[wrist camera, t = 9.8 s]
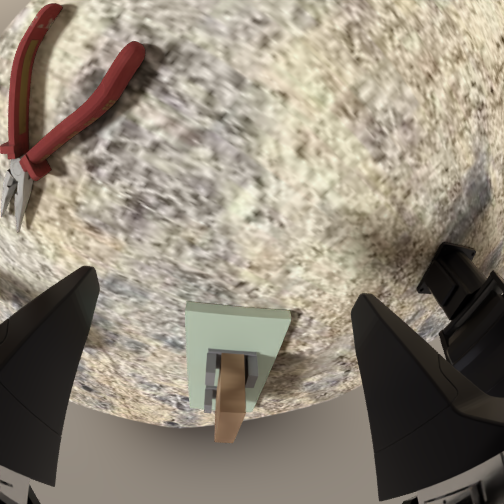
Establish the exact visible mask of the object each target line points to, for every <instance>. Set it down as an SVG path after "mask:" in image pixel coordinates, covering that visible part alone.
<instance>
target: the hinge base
mask: <svg viewBox="0 0 504 504" xmlns="http://www.w3.org/2000/svg"><path fill="white" fill-rule="evenodd" d="M290 322H291V314H290V310H278V309H263V308H251V307H239V306H228V305H217V304H208V303H198V302H189V301H187V303H186V308H185V327H186V355H187V374H188V389H189V402H190V408H194V409H204V413H211V410H215V406H216V392H217V384H218V376H219V369H220V361H221V354H222V353H231V354H244V370H245V402H246V412H252V411H253V409H254V406H255V404H256V402H257V400H258V398H259V396H260V393H261V391H262V389H263V387H264V384H265V382H266V380H267V377H268V375H269V373H270V371H271V368H272V366H273V363H274V361H275V359H276V356H277V354H278V352H279V349H280V347H281V344H282V342H283V339H284V337H285V334H286V332H287V329H288V327H289V324H290Z"/></svg>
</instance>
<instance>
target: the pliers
mask: <svg viewBox="0 0 504 504" xmlns="http://www.w3.org/2000/svg"><path fill="white" fill-rule="evenodd" d="M62 8H63V7H62V6H61V5H59V4H56V3H51V4H48V5H46V6H44V7H43V8H42V9H41V10H40V11H39V12H38V14H37V15H36V17H35V18H34V20H33V21H32V23H31V24H30V26H29V28H28V29H27V31H26V33H25V35H24V36H23V38H22V40H21V42H20V43H19V46H18V48H17V51H16V54H15V57H14V61H13V65H12V71H11V78H10V89H9V108H8V136H9V141H8V142H6V143H4V144H2V145H1V146H0V153H1V154H8V159H11V164H10V169H9V170H7V173H6V175H5V179H4V183H3V193H2V207H1V217H3V216H4V213H5V211H6V209H7V206H8V204H9V202H10V200H11V198H12V195H13V193H14V191H15V189H16V187H17V184H18V187H17V192H16V193H15V217H16V226H17V233H18V232H19V231H20V228H21V224H22V220H23V217H24V213H25V210H26V207H27V204H28V200H29V197H30V194H31V189H32V184H33V180H34V181H38V180H39V179H41V178H42V177H43V176H45V175H46V174H47V173H49V172H50V171H51V168H50V166H49V164H48V162H47V160H46V158H47V157H49V156H50V155H51V154H52V153H53V152H55V151H56V150H57V149H58V148H60V147H61V146H62V145H63V144H65V143H66V142H67V141H68V140H70V139H71V138H72V137H74V136H75V135H76V134H78V133H79V132H80V131H82V130H83V129H85V128H86V127H87V126H89V125H90V124H92V123H93V122H94V121H96V120H97V119H98V118H99V117H101V116H102V115H103V114H104V113H105V112H106V111H107V110H108V109H110V108H111V107H112V106H113V105H114V103H115V102H116V101H117V100H118V99H119V98H120V96H121V94H122V93H123V91H124V89H125V88H126V86H127V84H128V83H129V81H130V80H131V78H132V76H133V75H134V73H135V72H136V70H137V69H138V67H139V66H140V64H141V63H142V62H143V59H144V57H145V48H144V47H143V45H142V44H141V43H139V42H136V41H132V42H130V43H129V44H127V45H126V46H125V47H124V48H123V49H122V50H121V52H120V53H119V54H118V56H117V57H116V59H115V60H114V62H113V64H112V65H111V67H110V68H109V70H108V72H107V73H106V75H105V77H104V78H103V80H102V82H101V83H100V85H99V86H98V88H97V89H96V90H95V92H94V93H93V94H92V95H91V96H90V98H89V99H88V100H87V101H86V102H85V103H84V104H83V105H82V106H80V107H79V108H78V109H77V110H76V111H75V112H73V113H72V114H71V115H69V116H68V117H67V118H66V119H64V120H63V121H62V122H61V123H60V124H58V125H57V126H56V127H55V128H54V129H52V130H51V131H50V132H49V133H48V134H47V135H46V136H44V137H43V138H42V139H41V140H40V141H39V142H38V143H37V144H36V145H35V146H34V147H33V148H32V149H31V150H29V129H28V122H29V95H30V83H31V73H32V67H33V62H34V58H35V55H36V52H37V49H38V47H39V45H40V43H41V41H42V39H43V37H44V36H45V34H46V32H47V31H48V29H49V28H50V26H51V25H52V23H53V21H54V20H55V18H56V17H57V15H58V14H59V13H60V11H61V10H62Z"/></svg>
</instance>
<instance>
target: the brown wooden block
mask: <svg viewBox="0 0 504 504" xmlns="http://www.w3.org/2000/svg"><path fill="white" fill-rule="evenodd" d="M245 414H246V402H245V370H244V354H231V353H222V354H221V361H220V369H219V376H218V384H217V392H216V406H215V442H224V443H233V442H234V440H235V438H236V435H237V433H238V430H239V428H240V426H241V424H242V421H243V419H244V416H245Z"/></svg>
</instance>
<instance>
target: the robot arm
mask: <svg viewBox="0 0 504 504" xmlns="http://www.w3.org/2000/svg"><path fill="white" fill-rule="evenodd" d="M475 253H476V251H475V250H474V249H473V248H469V247H465V246H460V245H456V244H451V243H447V242H443V243H442V244H441V245H440V247H439V249H438V251H437V253H436V255H435V257H434V258H433V260H432V262H431V264H430V266H429V268H428V269H427V271H426V273H425V275H424V277H423V278H422V280H421V282H420V283H419V285H418V287H417V291H418V293H424V294H433V296H434V297H435V299H436V301H437V302H438V304H439V305H440V306H441V307H442V309H443V310H444V312H445V313H446V315H447V317H448V318H449V320H451V322H450V323H449V324H448V325H447V326H446V327H445V328H444V329H443V330H441V331H440V332H439V336H440V339H441V344H442V347H443V350H444V354H445V357H446V360H445V359H444V358H443V357H442V356H441V355H440V354H438V352H436V350H434V348H432V347H431V346H430V345H429V344H428V343H427V342H426V341H425V340H424V339H423V338H422V337H420V336H419V335H418V334H417V333H416V332H415V331H414V330H413V329H412V328H410V327H409V326H408V325H407V324H406V323H405V322H404V321H403V320H401V319H400V318H399V317H398V316H397V315H396V314H395V313H393V312H392V311H391V310H390V309H389V308H388V307H387V306H385V305H384V304H383V303H382V302H381V301H380V300H378V299H377V298H376V297H375V296H374V295H372V294H369V293H362V294H360V295H359V297H358V299H357V301H356V302H355V304H354V306H353V308H352V311H351V320H352V327H353V335H354V343H355V350H356V356H357V361H358V365H359V370H360V374H361V379H362V384H363V389H364V394H365V400H366V405H367V410H368V417H369V422H370V429H371V435H372V442H373V449H374V458H375V466H376V475H377V485H378V496H379V501H384V500H388V499H392V498H396V497H400V496H403V495H406V494H410V493H413V492H417V496H415V497H412V498H410V499H408V500H406V501H404V502H403V503H402V504H504V279H503V278H502V277H501V276H500V275H498V274H497V273H496V272H495V271H494V270H492V272H491V273H490V276H489V277H488V279H486V277H485V276H484V275H483V274H482V272H481V271H480V270H479V269H478V268H477V267H476V265H475V264H474V263H473V262H472V259H473V257H474V255H475ZM99 291H100V286H99V282H98V278H97V274H96V270H95V268H94V267H91V266H82V267H80V268H79V269H77V270H76V271H74V272H73V273H71V274H70V275H68V276H67V277H65V278H64V279H62V280H61V281H59V282H58V283H56V284H55V285H53V286H52V287H50V288H49V289H47V290H46V291H45V292H43V293H42V294H40V295H39V296H38V297H36V298H35V299H33V300H32V301H31V302H29V303H28V304H26V305H25V306H24V307H22V308H21V309H20V310H18V311H17V312H16V313H14V314H13V315H12V316H10V317H9V319H6V320H5V321H4V322H3V323H1V324H0V504H40V502H39V500H38V499H37V497H36V495H35V494H34V492H33V490H32V488H31V486H30V485H29V482H30V479H33V480H36V481H39V482H41V483H44V484H47V485H50V486H53V487H55V480H56V471H57V462H58V455H59V448H60V442H61V435H62V430H63V425H64V420H65V414H66V410H67V406H68V402H69V398H70V394H71V390H72V386H73V382H74V378H75V375H76V371H77V368H78V365H79V361H80V358H81V355H82V352H83V348H84V345H85V342H86V339H87V336H88V333H89V330H90V326H91V322H92V318H93V314H94V310H95V306H96V302H97V299H98V295H99ZM502 293H503V295H501V294H502Z"/></svg>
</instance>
